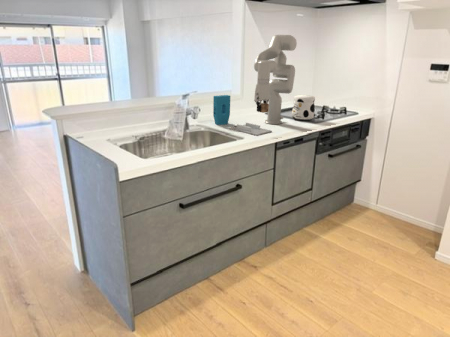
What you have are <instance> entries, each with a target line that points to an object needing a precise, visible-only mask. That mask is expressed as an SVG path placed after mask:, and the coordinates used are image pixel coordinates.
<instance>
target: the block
mask: <svg viewBox="0 0 450 337" xmlns="http://www.w3.org/2000/svg"><path fill="white" fill-rule="evenodd" d="M212 103H213V106H212V107H213V108H212V109H213V112H212V113H213V119H214V124H215V125H218V126H221V125H222V126H223V125H228V124H229V120H230V116H231V95H229V94H223V95H221V94H220V95H213V102H212Z"/></svg>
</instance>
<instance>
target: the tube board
mask: <svg viewBox="0 0 450 337" xmlns="http://www.w3.org/2000/svg"><path fill="white" fill-rule="evenodd" d="M229 130H233V131H236V132H240V133H245V134H249V135H253V136H256V137H257V136H261V135H265V134H268V133H269V134H270V133H272V132H273V130H270V129H266V128H261V124H260V125H259V124H256V123H250V122H245V124H239V123H238V124H236V125H234V126H232V127H231V126H230V127H229Z"/></svg>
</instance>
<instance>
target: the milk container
mask: <svg viewBox="0 0 450 337" xmlns="http://www.w3.org/2000/svg"><path fill="white" fill-rule="evenodd" d="M315 100H316V98H315V96H313V95H305V94H302V95H301V94H299V95H294V97H293V107H292V111H291V117H292V119H294V120H295V121H296V120H297V121H305V122H306V121H310V120H309V119H311V120H313V119H314V117H315V109H314V108H315V107H314V106H315ZM312 118H313V119H312Z"/></svg>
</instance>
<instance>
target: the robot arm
mask: <svg viewBox="0 0 450 337" xmlns="http://www.w3.org/2000/svg"><path fill="white" fill-rule="evenodd" d="M296 49H297V38H296V37H294V35H291V34H275V35H273V36H272V37H271V40H270V43H269V44H268V47H267V48H266V49H264V50H263V51H261V52H260V53H258V55H257V56H256V58H255V61H254V64H253V68H254V71H255V72H256V73H257V80H256V81H257V83H256V85H255V90H254V100H253V102H255V105H256V112H257V111H259V112H258V113H262V112H261V103H266V104H269V109H268V112H267V119H265V120H264V121H265V124H269V125H281V124H282V123H283V121H282V120H283V119H284V116H282V114H281V112H282V102H283V101H282V99H283V98H282V97H281V95H280V94H291V93H292V91H293V88H294V83H295V76H296V75H295V74H296V67H295V65H293V64H287V55H286V54H285V52H286V51H290V52H291V51H292V52H293V51H294V50H296ZM284 51H285V52H284ZM271 74H272V76H273V77H274V78H275V79H271V77H270V76H271Z"/></svg>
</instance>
